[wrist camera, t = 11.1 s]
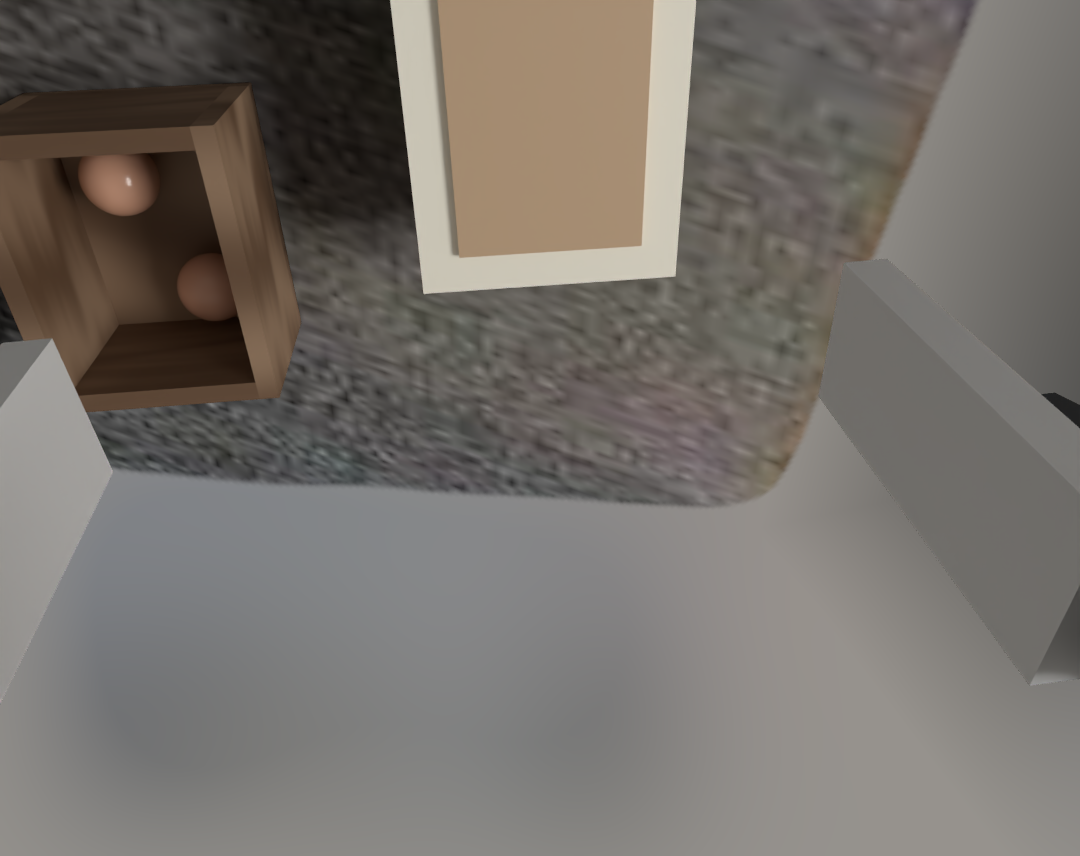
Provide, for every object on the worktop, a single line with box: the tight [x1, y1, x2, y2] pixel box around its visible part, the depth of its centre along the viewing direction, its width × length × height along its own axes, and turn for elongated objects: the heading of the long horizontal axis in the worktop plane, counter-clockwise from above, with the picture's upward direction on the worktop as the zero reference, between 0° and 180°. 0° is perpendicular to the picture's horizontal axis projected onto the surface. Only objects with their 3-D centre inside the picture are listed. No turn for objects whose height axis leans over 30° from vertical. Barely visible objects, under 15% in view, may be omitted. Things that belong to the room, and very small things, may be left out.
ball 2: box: [177, 253, 238, 321], centre depth 36 cm, size 3×3×3 cm
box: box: [0, 83, 301, 412], centre depth 33 cm, size 11×9×7 cm
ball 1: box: [78, 153, 161, 216], centre depth 33 cm, size 3×3×3 cm
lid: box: [390, 0, 696, 294], centre depth 29 cm, size 12×10×3 cm
